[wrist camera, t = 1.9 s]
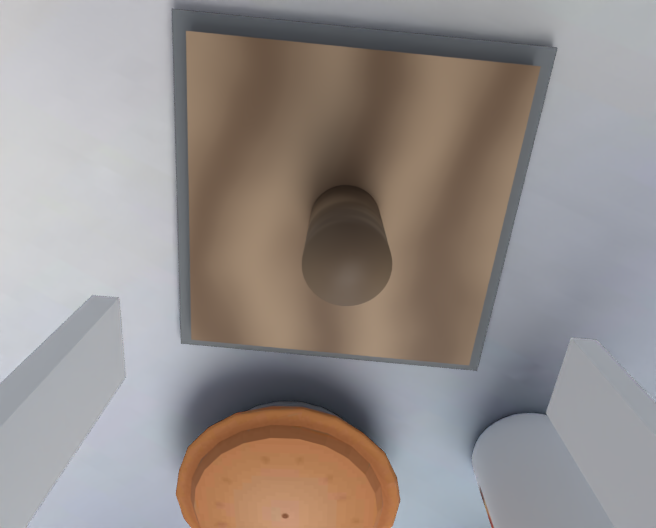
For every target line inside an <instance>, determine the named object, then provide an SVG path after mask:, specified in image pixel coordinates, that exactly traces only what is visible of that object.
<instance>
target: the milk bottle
mask: <svg viewBox="0 0 656 528" xmlns="http://www.w3.org/2000/svg"><path fill="white" fill-rule="evenodd" d="M472 466H473V470H474V474H475V477H476V481H477V484H478V487H479V490H480V493H481V496H482V499H483V502H484V505H485V508H486V511H487V514H488V517H489V520H490V523H491V527H492V528H615V527H614V526H613V524H612V522H611V521H610V519H609V517H608V516H607V514H606V512H605V511H604V509H603V507H602V506H601V504H600V502H599V501H598V499H597V497H596V496H595V494H594V492H593V491H592V489H591V487H590V486H589V484H588V482H587V481H586V479H585V477H584V476H583V474H582V472H581V471H580V469H579V467H578V466H577V464H576V462H575V461H574V459H573V457H572V456H571V454H570V452H569V451H568V449H567V447H566V446H565V444H564V442H563V441H562V439H561V437H560V436H559V434H558V432H557V431H556V429H555V427H554V426H553V424H552V422H551V421H550V419H549V417H548V416H547V415H544V414H538V413H520V414H515V415H511V416H508V417H505V418H502V419H500V420H499V421H497V422H495V423H493V424H492V425H491V426H489V427H488V428H487V429H486V430H485V431H484V432H483V433H482V434H481V435H480V437H479V438H478V440H477V442H476V444H475V447H474V450H473V454H472Z"/></svg>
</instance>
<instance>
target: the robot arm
mask: <svg viewBox="0 0 656 528" xmlns="http://www.w3.org/2000/svg"><path fill="white" fill-rule="evenodd" d="M125 378H126V372H125V360H124V348H123V336H122V324H121V312H120V300H119V297H107V296H96V295H92V296H91V297H90V298H89V299H88V300H87V301H86V302H85V303H84V304H83V305H82V306H81V307H80V308H78V309H77V310H76V311H75V312H74V313H73V314H72V315H71V316H70V317H69V318H68V319H67V320H66V321H65V322H64V323H63V324H62V325H61V326H60V327H59V328H58V329H57V330H56V331H54V332H53V333H52V334H51V335H50V336H49V337H48V338H47V339H46V340H45V341H44V342H43V343H42V344H41V345H40V346H39V347H38V348H37V349H36V350H35V351H34V352H33V353H32V354H31V355H29V356H28V357H27V358H26V359H25V360H24V361H23V362H22V363H21V364H20V365H19V366H18V367H17V368H16V369H15V370H14V371H13V372H12V373H11V374H10V375H9V376H8V377H7V378H5V379H4V380H3V381H2V382H1V383H0V528H26V527H27V526H28V524H29V523H30V521H31V520H32V518H33V516H34V515H35V513H36V512H37V510H38V509H39V507H40V506H41V504H42V503H43V501H44V500H45V498H46V497H47V495H48V494H49V492H50V491H51V489H52V488H53V486H54V485H55V483H56V482H57V480H58V479H59V477H60V476H61V474H62V473H63V471H64V470H65V468H66V467H67V465H68V464H69V462H70V461H71V459H72V458H73V456H74V455H75V453H76V452H77V450H78V449H79V447H80V446H81V444H82V443H83V441H84V440H85V438H86V437H87V435H88V434H89V432H90V431H91V429H92V428H93V426H94V425H95V423H96V422H97V420H98V419H99V417H100V416H101V414H102V413H103V411H104V410H105V408H106V407H107V405H108V404H109V402H110V401H111V399H112V398H113V396H114V395H115V393H116V392H117V390H118V389H119V387H120V386H121V384H122V383H123V381H124V380H125ZM546 414H547V416H548V417H549V419H550V421H551V422H552V424H553V426H554V427H555V429H556V431H557V432H558V434H559V436H560V437H561V439H562V441H563V442H564V444H565V446H566V447H567V449H568V451H569V452H570V454H571V456H572V457H573V459H574V461H575V462H576V464H577V466H578V467H579V469H580V471H581V472H582V474H583V476H584V477H585V479H586V481H587V482H588V484H589V486H590V487H591V489H592V491H593V492H594V494H595V496H596V497H597V499H598V501H599V502H600V504H601V506H602V507H603V509H604V511H605V512H606V514H607V516H608V517H609V519H610V521H611V522H612V524H613V526H614V527H615V528H656V402H655V401H654V400H653V399H652V398H651V397H650V396H649V395H648V394H647V393H646V392H645V391H644V389H643V388H642V387H641V386H640V385H639V384H638V383H637V382H636V381H635V380H634V379H633V378H632V377H631V376H630V375H629V374H628V372H627V371H626V370H625V369H624V368H623V367H622V366H621V365H620V364H619V363H618V362H617V361H616V360H615V359H614V358H613V357H612V355H611V354H610V353H609V352H608V351H607V350H606V349H605V348H604V347H603V346H602V345H601V344H600V343H599V342H598V341H597V340H595V339H583V338H572V337H571V339H570V342H569V345H568V348H567V351H566V354H565V357H564V360H563V363H562V366H561V369H560V372H559V375H558V378H557V381H556V384H555V387H554V390H553V393H552V396H551V399H550V402H549V405H548V408H547V411H546Z"/></svg>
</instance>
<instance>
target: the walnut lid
mask: <svg viewBox="0 0 656 528" xmlns="http://www.w3.org/2000/svg"><path fill="white" fill-rule="evenodd" d="M186 62H187V120H188V178H189V235H190V293H191V340H199V341H210V342H221V343H232V344H242V345H253V346H264V347H275V348H286V349H297V350H307V351H318V352H329V353H340V354H351V355H362V356H372V357H383V358H394V359H405V360H416V361H427V362H438V363H448V364H459V365H469V363H470V359H471V355H472V351H473V347H474V343H475V338H476V334H477V330H478V326H479V322H480V318H481V313H482V309H483V305H484V301H485V297H486V293H487V288H488V284H489V280H490V276H491V272H492V268H493V263H494V259H495V255H496V251H497V247H498V243H499V239H500V234H501V230H502V226H503V222H504V218H505V214H506V209H507V205H508V201H509V197H510V193H511V189H512V184H513V180H514V176H515V172H516V168H517V164H518V159H519V155H520V151H521V147H522V143H523V139H524V134H525V130H526V126H527V122H528V118H529V114H530V109H531V105H532V101H533V97H534V93H535V89H536V85H537V80H538V76H539V72H540V68H541V66H532V65H522V64H512V63H502V62H492V61H482V60H472V59H462V58H452V57H442V56H432V55H422V54H412V53H402V52H392V51H382V50H372V49H362V48H352V47H342V46H333V45H323V44H313V43H303V42H293V41H283V40H273V39H263V38H253V37H243V36H233V35H223V34H213V33H203V32H193V31H186Z"/></svg>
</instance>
